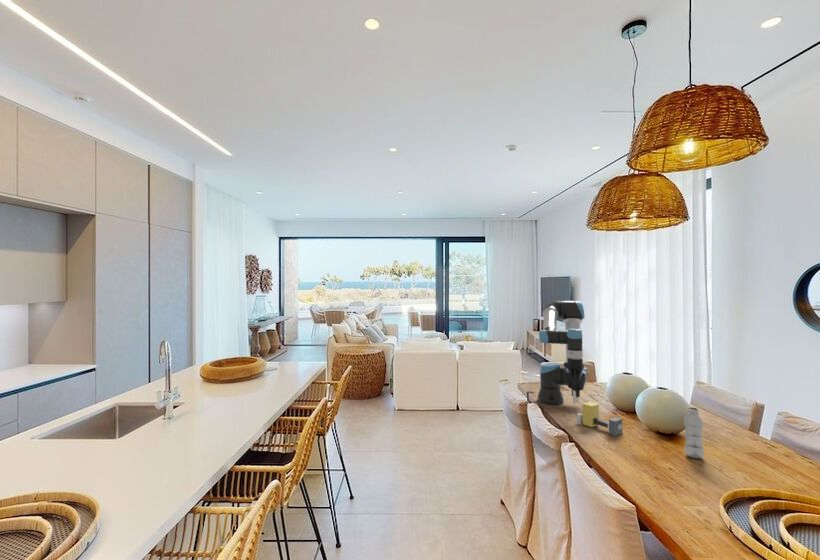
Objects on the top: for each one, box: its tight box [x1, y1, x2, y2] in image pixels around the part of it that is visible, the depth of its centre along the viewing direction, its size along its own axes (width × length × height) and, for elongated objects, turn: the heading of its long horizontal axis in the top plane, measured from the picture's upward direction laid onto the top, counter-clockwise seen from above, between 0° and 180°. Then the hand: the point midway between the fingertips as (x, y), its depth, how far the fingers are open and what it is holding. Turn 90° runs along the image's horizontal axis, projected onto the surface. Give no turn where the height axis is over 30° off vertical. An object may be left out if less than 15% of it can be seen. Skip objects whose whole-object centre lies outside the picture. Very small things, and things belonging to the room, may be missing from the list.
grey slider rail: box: [576, 413, 623, 437], centre depth 190 cm, size 7×21×7 cm, turn 31°
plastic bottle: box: [683, 407, 705, 459], centre depth 158 cm, size 6×7×20 cm
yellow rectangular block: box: [582, 401, 600, 428], centre depth 194 cm, size 6×5×10 cm
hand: (575, 402), depth 202 cm, fingers closed
